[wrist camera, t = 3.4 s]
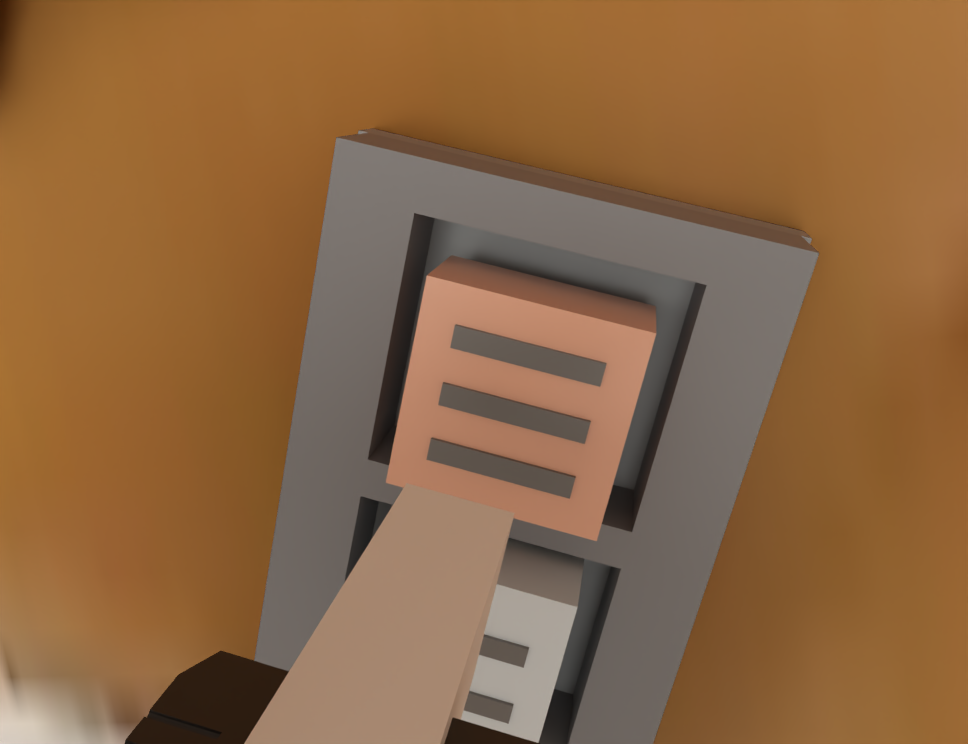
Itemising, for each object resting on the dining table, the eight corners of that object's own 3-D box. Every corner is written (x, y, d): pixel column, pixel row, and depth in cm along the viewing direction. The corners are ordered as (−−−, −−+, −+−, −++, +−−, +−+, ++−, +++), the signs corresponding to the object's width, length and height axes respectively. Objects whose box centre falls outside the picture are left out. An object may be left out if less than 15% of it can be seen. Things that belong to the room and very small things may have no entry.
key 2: (368, 658, 25) (337, 720, 22) (400, 502, 23) (371, 550, 21) (540, 709, 24) (528, 778, 22) (585, 553, 23) (577, 609, 20)
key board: (259, 797, 30) (210, 886, 27) (372, 128, 23) (325, 134, 20) (582, 900, 29) (573, 1006, 26) (803, 231, 22) (831, 256, 19)
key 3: (413, 441, 23) (384, 484, 20) (451, 255, 21) (425, 276, 19) (602, 493, 22) (596, 543, 20) (655, 305, 21) (656, 334, 18)
